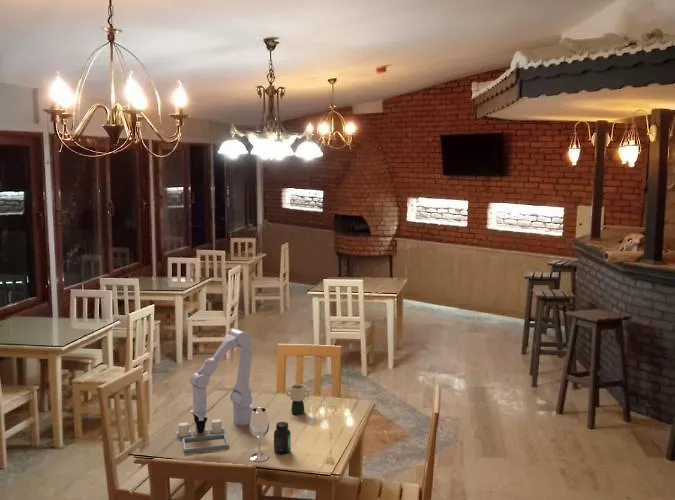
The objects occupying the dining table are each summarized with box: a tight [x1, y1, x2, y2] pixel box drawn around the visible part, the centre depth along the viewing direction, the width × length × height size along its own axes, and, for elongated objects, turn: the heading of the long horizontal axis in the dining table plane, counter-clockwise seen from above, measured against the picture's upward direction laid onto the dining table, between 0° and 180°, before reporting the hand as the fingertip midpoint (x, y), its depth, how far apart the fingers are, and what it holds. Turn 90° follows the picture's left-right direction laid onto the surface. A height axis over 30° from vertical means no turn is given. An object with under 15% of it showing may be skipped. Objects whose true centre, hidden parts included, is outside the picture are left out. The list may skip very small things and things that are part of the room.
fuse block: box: [174, 426, 227, 440], centre depth 292 cm, size 21×6×3 cm, turn 106°
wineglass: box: [248, 406, 270, 462], centre depth 270 cm, size 8×8×20 cm
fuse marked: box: [194, 422, 206, 435], centre depth 291 cm, size 4×3×5 cm
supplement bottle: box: [273, 421, 292, 456], centre depth 276 cm, size 7×7×12 cm
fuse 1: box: [178, 421, 190, 437], centre depth 289 cm, size 4×3×5 cm
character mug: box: [285, 383, 310, 415], centre depth 319 cm, size 11×7×13 cm, turn 87°
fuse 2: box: [211, 418, 223, 434], centre depth 293 cm, size 4×3×5 cm
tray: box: [181, 434, 230, 456], centre depth 281 cm, size 18×12×2 cm, turn 106°
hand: (200, 430), depth 291 cm, fingers open, 4 cm apart
